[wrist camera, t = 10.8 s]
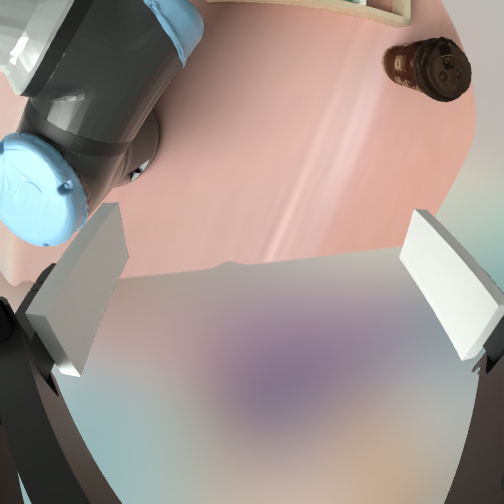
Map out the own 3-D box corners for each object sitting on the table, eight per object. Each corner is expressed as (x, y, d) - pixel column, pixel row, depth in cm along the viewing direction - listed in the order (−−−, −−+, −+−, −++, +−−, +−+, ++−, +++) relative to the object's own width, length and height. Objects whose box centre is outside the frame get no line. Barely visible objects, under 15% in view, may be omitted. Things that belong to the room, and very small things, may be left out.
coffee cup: (384, 28, 31) (433, 21, 20) (428, 53, 33) (482, 58, 22) (368, 77, 36) (415, 85, 25) (413, 99, 37) (465, 116, 26)
